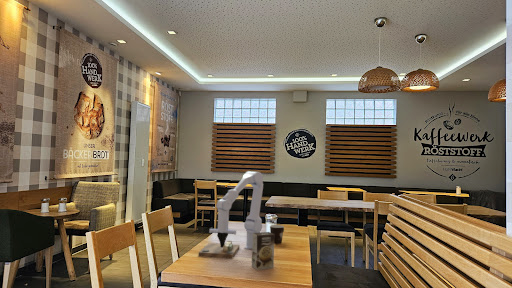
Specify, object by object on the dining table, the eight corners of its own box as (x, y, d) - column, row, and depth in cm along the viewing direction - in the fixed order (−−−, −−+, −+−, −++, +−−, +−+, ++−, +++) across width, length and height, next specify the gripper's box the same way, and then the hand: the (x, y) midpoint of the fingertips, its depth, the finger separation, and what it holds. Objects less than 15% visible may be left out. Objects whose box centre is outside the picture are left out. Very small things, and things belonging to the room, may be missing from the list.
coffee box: (256, 270, 162) (257, 235, 163) (251, 266, 168) (252, 232, 169) (274, 268, 166) (275, 234, 166) (268, 264, 172) (269, 231, 172)
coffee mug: (274, 244, 210) (274, 228, 210) (267, 241, 217) (267, 225, 217) (290, 243, 215) (290, 226, 215) (282, 240, 223) (283, 224, 223)
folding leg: (227, 245, 197) (227, 240, 197) (232, 245, 197) (232, 240, 197) (222, 250, 185) (222, 246, 185) (227, 251, 185) (227, 246, 185)
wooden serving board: (239, 248, 199) (239, 240, 199) (232, 258, 179) (232, 249, 179) (208, 246, 202) (209, 238, 202) (198, 256, 182) (198, 247, 182)
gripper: (208, 222, 186) (207, 247, 185) (234, 223, 184) (234, 249, 183) (211, 219, 193) (210, 244, 192) (237, 221, 191) (236, 246, 190)
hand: (222, 246), depth 188 cm, fingers closed
